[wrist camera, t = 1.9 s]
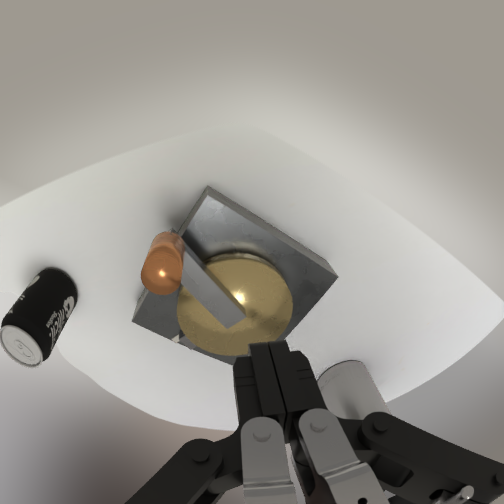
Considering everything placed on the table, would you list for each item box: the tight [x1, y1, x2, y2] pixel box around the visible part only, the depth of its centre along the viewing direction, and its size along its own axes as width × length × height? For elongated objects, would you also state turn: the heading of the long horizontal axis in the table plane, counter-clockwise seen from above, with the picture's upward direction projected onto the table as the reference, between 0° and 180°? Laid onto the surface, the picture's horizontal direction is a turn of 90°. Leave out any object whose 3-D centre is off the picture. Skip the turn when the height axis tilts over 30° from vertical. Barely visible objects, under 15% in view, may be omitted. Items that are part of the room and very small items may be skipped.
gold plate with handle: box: [141, 228, 293, 356], centre depth 28 cm, size 18×13×8 cm
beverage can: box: [0, 269, 77, 368], centre depth 28 cm, size 7×7×12 cm
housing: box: [132, 186, 338, 365], centre depth 35 cm, size 17×17×4 cm
